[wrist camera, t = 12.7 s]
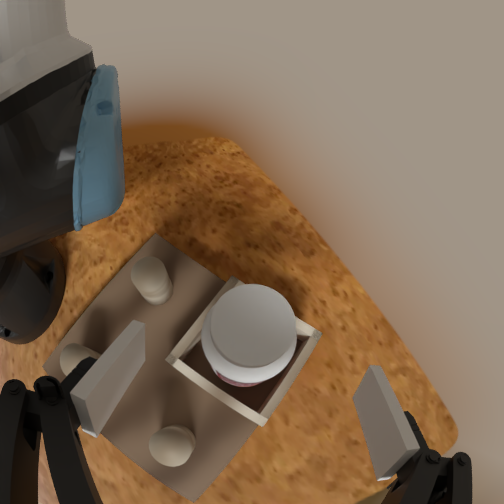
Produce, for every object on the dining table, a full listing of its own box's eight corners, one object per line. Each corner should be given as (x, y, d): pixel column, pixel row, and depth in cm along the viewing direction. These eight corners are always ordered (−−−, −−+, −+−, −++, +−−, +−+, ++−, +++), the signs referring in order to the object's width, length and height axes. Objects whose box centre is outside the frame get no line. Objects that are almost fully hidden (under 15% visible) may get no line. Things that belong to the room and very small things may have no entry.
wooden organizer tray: (56, 370, 23) (20, 359, 17) (160, 246, 32) (148, 210, 26) (197, 492, 19) (189, 519, 13) (305, 345, 28) (328, 329, 22)
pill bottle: (290, 354, 24) (332, 324, 15) (242, 400, 22) (254, 406, 12) (243, 308, 26) (254, 252, 16) (194, 351, 24) (172, 319, 14)
